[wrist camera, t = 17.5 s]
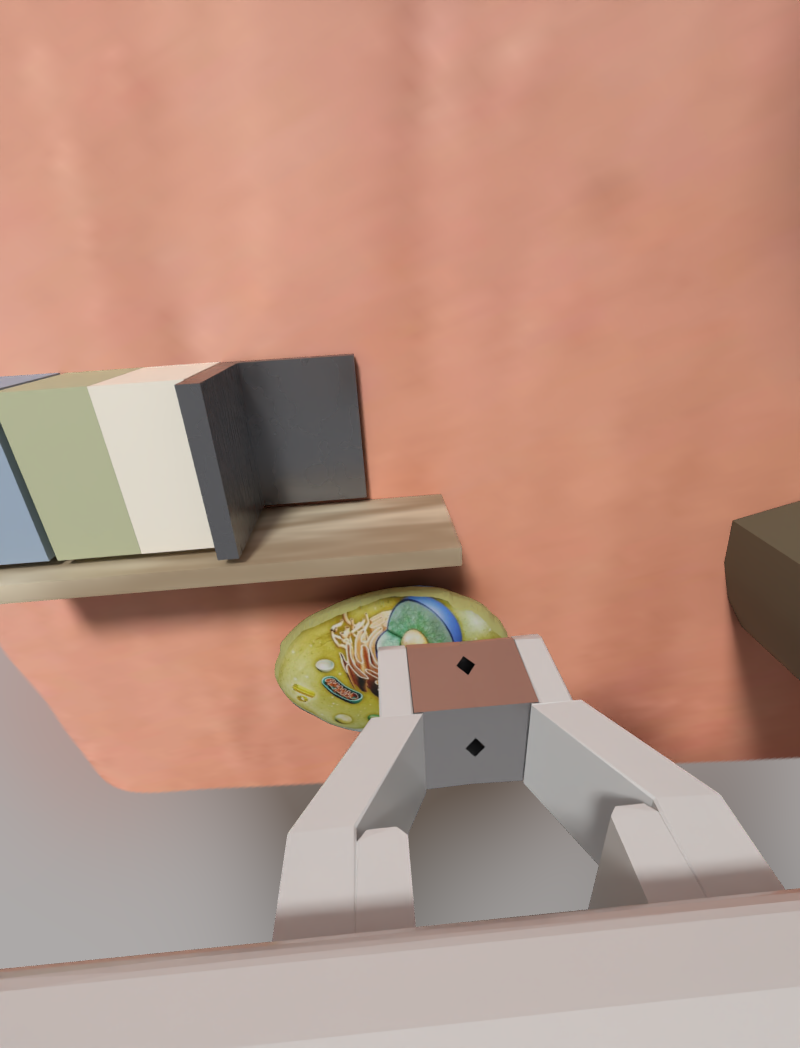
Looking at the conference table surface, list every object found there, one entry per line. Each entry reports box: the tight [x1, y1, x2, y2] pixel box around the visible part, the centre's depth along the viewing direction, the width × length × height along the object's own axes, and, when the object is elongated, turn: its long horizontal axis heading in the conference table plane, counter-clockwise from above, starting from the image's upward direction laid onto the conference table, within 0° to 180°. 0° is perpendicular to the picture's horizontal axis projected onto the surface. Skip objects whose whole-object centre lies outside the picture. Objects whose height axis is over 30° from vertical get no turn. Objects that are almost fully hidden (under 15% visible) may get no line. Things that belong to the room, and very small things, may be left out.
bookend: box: [174, 354, 367, 560], centre depth 24 cm, size 8×7×7 cm
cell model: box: [275, 586, 507, 732], centre depth 32 cm, size 10×8×14 cm
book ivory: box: [87, 362, 220, 554], centre depth 25 cm, size 8×4×6 cm, turn 3°
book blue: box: [0, 373, 60, 565], centre depth 25 cm, size 8×4×6 cm, turn 3°
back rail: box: [0, 494, 462, 604], centre depth 25 cm, size 10×25×7 cm, turn 93°
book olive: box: [0, 367, 144, 561], centre depth 25 cm, size 8×4×6 cm, turn 3°
